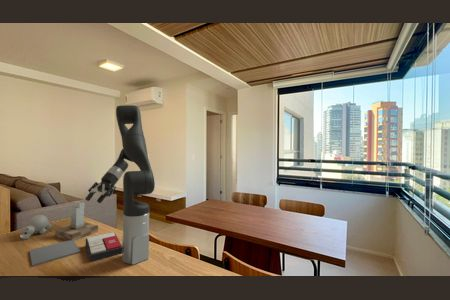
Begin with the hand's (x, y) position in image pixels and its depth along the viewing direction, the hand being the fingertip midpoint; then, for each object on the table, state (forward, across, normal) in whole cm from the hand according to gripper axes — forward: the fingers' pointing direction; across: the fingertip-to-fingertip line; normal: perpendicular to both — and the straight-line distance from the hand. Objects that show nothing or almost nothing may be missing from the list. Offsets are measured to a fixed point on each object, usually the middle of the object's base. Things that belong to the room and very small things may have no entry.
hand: (92, 201), depth 105 cm
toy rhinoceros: (+22, -15, -2) cm, 26 cm away
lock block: (+15, 0, +5) cm, 16 cm away
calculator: (+19, +24, +2) cm, 31 cm away
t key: (+15, 0, +5) cm, 16 cm away
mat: (+25, +9, -6) cm, 27 cm away
